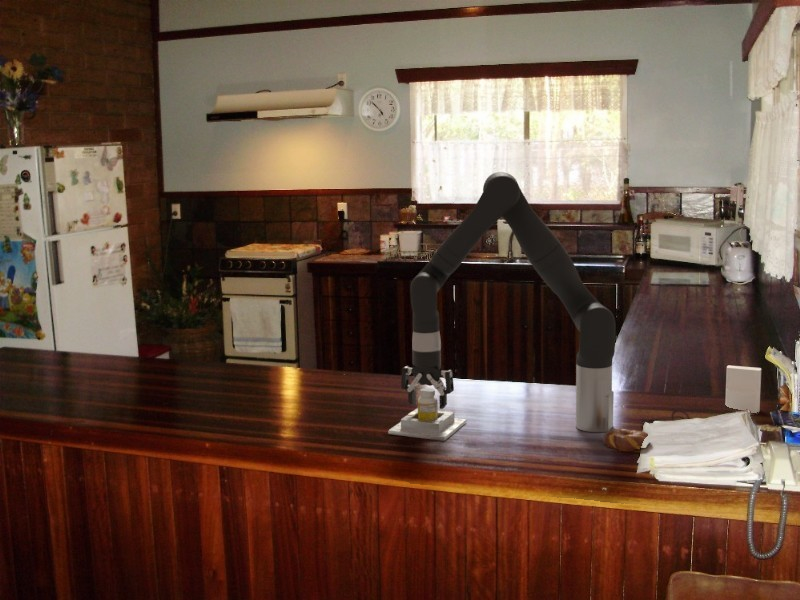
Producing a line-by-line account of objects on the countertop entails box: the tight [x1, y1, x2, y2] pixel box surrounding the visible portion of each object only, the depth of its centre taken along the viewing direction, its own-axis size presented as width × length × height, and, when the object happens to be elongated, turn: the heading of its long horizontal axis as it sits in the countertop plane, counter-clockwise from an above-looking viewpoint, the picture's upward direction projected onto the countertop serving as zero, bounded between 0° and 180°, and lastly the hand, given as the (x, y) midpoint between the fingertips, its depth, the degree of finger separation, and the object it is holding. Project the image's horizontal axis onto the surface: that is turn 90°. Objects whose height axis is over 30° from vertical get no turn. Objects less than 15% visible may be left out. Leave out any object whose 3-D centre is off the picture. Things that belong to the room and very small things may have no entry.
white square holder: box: [388, 407, 467, 442], centre depth 240 cm, size 16×16×4 cm
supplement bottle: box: [417, 387, 439, 421], centre depth 240 cm, size 5×5×10 cm
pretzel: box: [602, 428, 649, 452], centre depth 224 cm, size 12×11×4 cm
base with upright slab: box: [724, 364, 762, 414], centre depth 249 cm, size 9×9×12 cm
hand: (427, 406), depth 240 cm, fingers open, 8 cm apart
